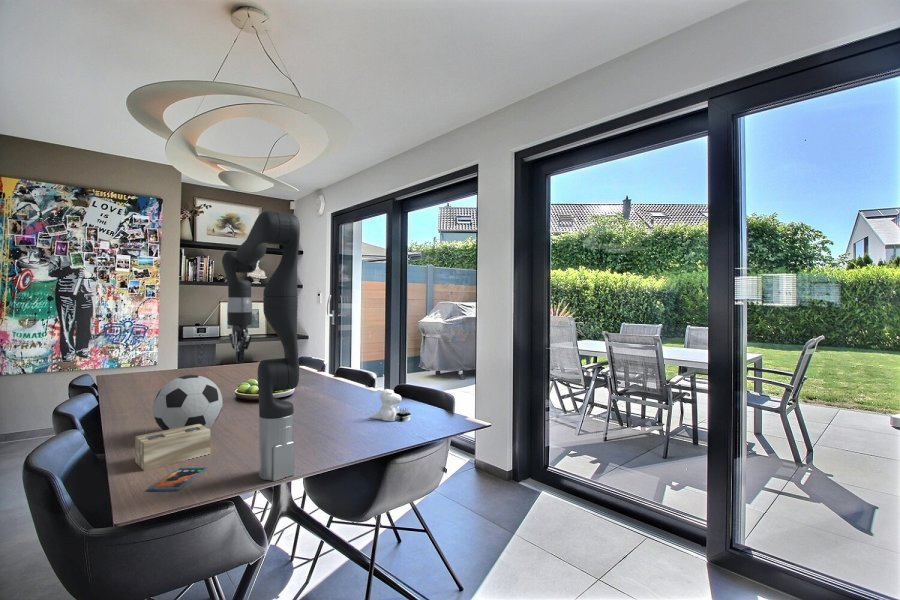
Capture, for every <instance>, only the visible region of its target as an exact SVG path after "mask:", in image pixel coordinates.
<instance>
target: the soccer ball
mask: <svg viewBox="0 0 900 600" xmlns="http://www.w3.org/2000/svg"><path fill="white" fill-rule="evenodd" d="M222 409H223V396H222V393H221V390H220V389H219V387H218V385H217V384H216V383H215V382H213V381H212V380H211V379H209V378H207V377H204V376H201V375H197V374H196V375H195V374H188V375H183V376H182V375H181V376H179V377H176V378H174V379H172V380H170V381H169V382H167V383H166V384H164V386H163V387H161V389H160V390H159V391H158V393H157V394H156V396H155V398H154V401H153V405H152V414H153V418H154V420H155V422H156V424H157V425H158V427H160V429H161V431H165V430H170V429H175V428H180V427H185V426H190V425H195V424H201V425H203V426H205V427H206V428H208V429H210V428H211V426H213V425H214V424H215V422H216V421H218V418H219V416H220V415H221V412H222Z"/></svg>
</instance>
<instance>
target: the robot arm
mask: <svg viewBox="0 0 900 600" xmlns="http://www.w3.org/2000/svg"><path fill="white" fill-rule="evenodd" d="M255 219H256V220H255V221H254V223H253V225H252V227H251V229H250V232H249V234H248V235H247V237H246V239H245V241H243V242H242V243H241V244H240V245H239V247H237V249H236V251H233V250H230V251H229V250H228V251H226V252H224V254H222V257H221V258H222V259H221V264H222V268H223V271H224V273H225V277H226V281H227V291H228V292H227V293H228V294H227V295H228V296H227V297H228V298H227V321H226V322H227V325H228V326H232V329H231V333H229V334H228V338H229V341H230V344H231V347H232V349H234V352H235V362H236V363H238V364H241V363H244V362H245V351H247V350H248V349H249V346H250V343H251V340H252V335H249V329H248V326H250V325H252V324H253V300H252V283H251V281H249V280H248V279H242V278H240V277H238V275H237V273H239V274H240V273H241V274H246V273H247V274H249V273H253V272H255V271H256V270H257V266H258V265H257V264H258V262H259V261H260V260H261V259H262V258H263V257H264V256H265V254H266V252H267V244H269V245H278V246H282V255H281V259H280V261H279V264H278V265H277V268H276V269H275V271H273V274H271V277H270V278H269V279H268V281H267V282H266V285H265V286H264V289H263V291H262V292H263V299H262V300H263V302H262V303H263V307H262V308H263V316H264V317H265V319H266V321H267V323H268V324H269V325H270V327H271V328H272V330H273V331H274V333H275V334H276V335H277V337H278V339H279V340H280V343H281V345H282V348H283V352H284V353H283V354H284V357H283V358H270V359H262V360H261V361H259V363H258V367H257V389H258V391H257V392H258V416H259V417H258V423H259V425H258V438H259V439H258V462H259V463H258V464H259V465H258V467H259V469H258V471H259V473H258V474H259V475H258V476H259V478H260V479H262V480H264V481H272V482H276V481H279V480H282V479H286V478H289V477H293V476H295V441H294V440H295V439H294V432H295V431H294V418H295V417H294V412H295V411H294V410H295V409H294V408H295V407H294V404H293V403H292V402H291V401H288V400H283V399H279V398H276V397H275V396H273V392H280V391H289V390H293V389H296V388H297V387H298V384H299V383H300V381H299V380H300V363H299V361H300V359H299V358H300V357H299V347H298V306H299V305H298V303H299V302H298V295H299V293H298V260H299V258H298V257H299V246H300V235H301V231H300V230H301V227H300V221H299V218H298V217H297V215H296V214H293V213H286V212H280V211H274V210H273V211H272V210H271V211H270V210H264V211H262V212H260V214H258V216H257V217H256V218H255ZM285 477H286V478H285Z"/></svg>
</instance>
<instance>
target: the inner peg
mask: <svg viewBox="0 0 900 600" xmlns="http://www.w3.org/2000/svg"><path fill="white" fill-rule="evenodd" d="M195 430H198V428H189V429H186V430H185V432H190V431H195Z"/></svg>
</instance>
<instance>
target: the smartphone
mask: <svg viewBox="0 0 900 600" xmlns="http://www.w3.org/2000/svg"><path fill="white" fill-rule="evenodd" d="M206 470H208V468H207V467H180V468H178V469H176V470H175V471H173V472H172V473H169V474H168V475H166V476H165V477H163V478H161V479H160V480H159V481H157V482H155V483H153V484H152V485H150V486H149V487H148V488H147V491H148V492H161V491H162V492H164V491H165V492H167V491H169V492H170V491H171V492H172V491H179V490H181V489H182V488H184V487H185V486H187V485H188V484H189V483H191V482H192V481H193V480H194V479H196V478H197V477H199V474H200V475H202V473H204V472H205V471H206ZM203 471H204V472H203ZM195 477H196V478H195Z"/></svg>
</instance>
